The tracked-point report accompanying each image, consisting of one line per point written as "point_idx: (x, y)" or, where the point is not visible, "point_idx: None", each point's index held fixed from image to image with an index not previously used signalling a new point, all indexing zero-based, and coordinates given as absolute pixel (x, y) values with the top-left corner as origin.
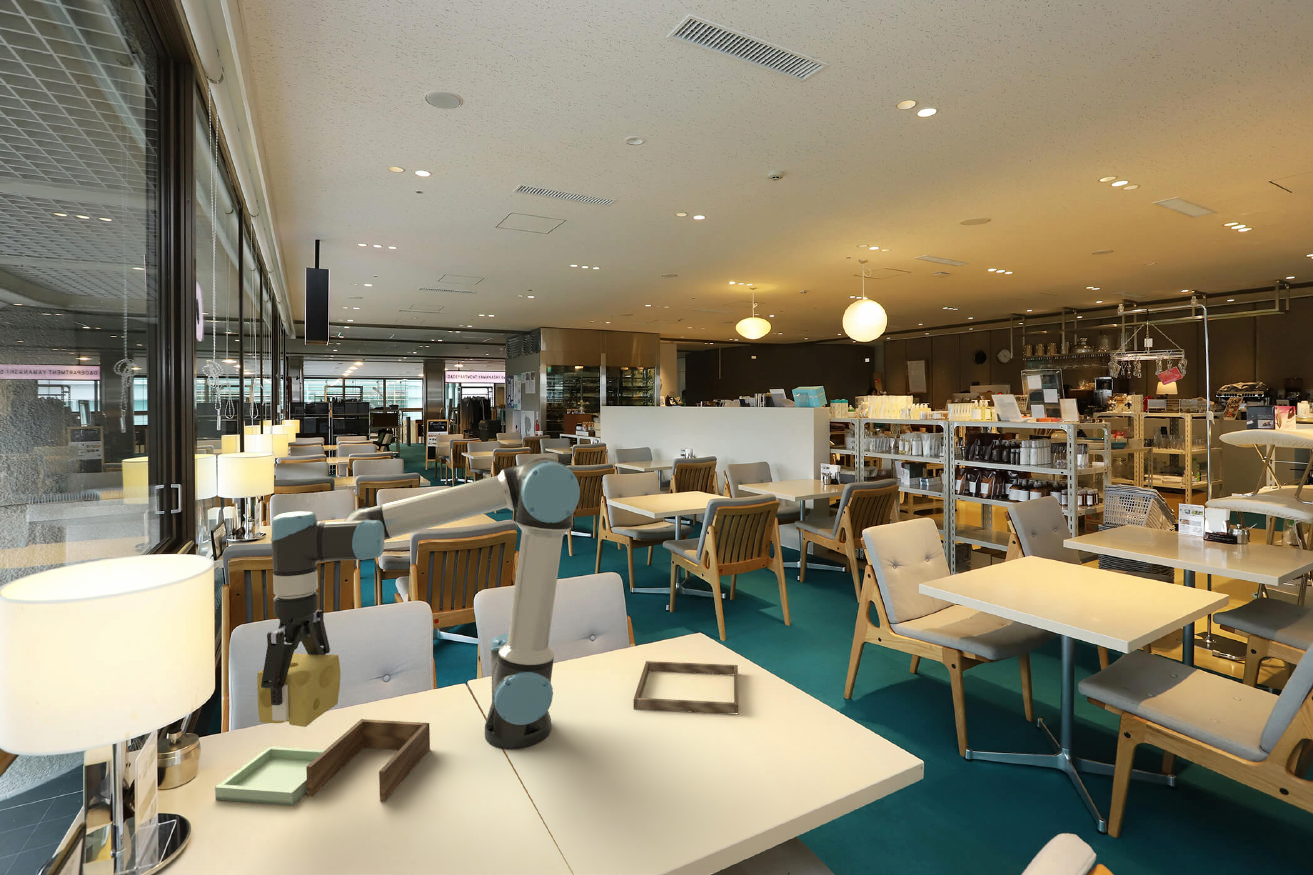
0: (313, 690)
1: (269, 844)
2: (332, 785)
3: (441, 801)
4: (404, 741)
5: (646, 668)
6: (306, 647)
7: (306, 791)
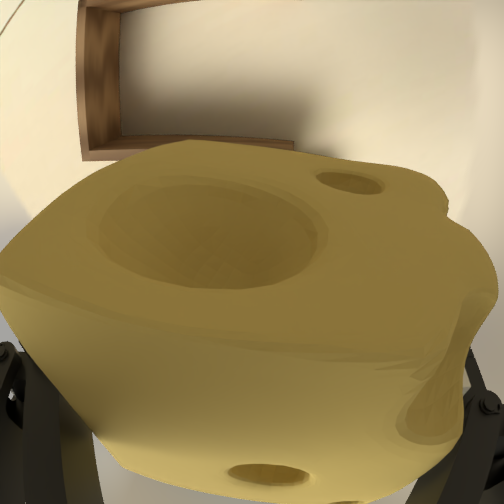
0: (405, 226)
1: (430, 151)
2: (253, 120)
3: None
4: (108, 49)
5: None
6: (96, 488)
7: None
